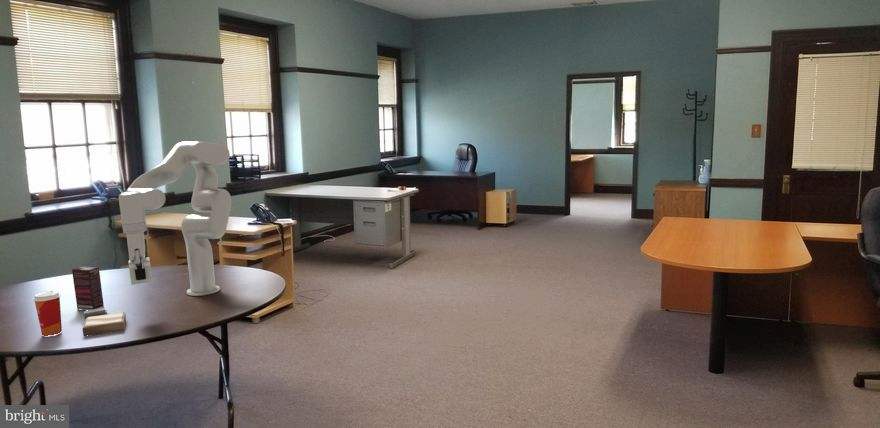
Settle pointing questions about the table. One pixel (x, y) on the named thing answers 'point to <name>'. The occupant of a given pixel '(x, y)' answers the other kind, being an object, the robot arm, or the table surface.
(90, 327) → the wooden tray
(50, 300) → the paper cup
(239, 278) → the table surface
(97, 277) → the supplement box
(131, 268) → the carton
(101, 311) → the gray box
